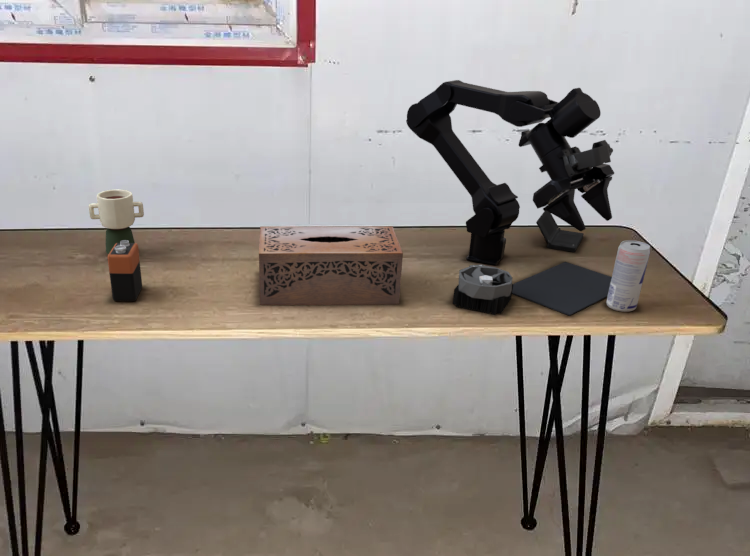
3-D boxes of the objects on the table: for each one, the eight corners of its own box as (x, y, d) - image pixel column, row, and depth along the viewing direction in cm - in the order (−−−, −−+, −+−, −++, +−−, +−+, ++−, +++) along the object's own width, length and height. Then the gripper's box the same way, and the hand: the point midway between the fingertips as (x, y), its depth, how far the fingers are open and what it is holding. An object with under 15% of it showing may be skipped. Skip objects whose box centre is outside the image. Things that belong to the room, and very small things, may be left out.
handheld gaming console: (586, 245, 166) (563, 205, 165) (555, 262, 169) (532, 223, 168) (585, 236, 176) (563, 198, 175) (556, 252, 180) (534, 215, 178)
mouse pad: (501, 290, 150) (501, 288, 149) (565, 263, 162) (565, 261, 162) (569, 315, 140) (569, 314, 140) (631, 284, 153) (631, 283, 152)
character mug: (147, 247, 167) (142, 188, 161) (147, 259, 161) (141, 198, 155) (96, 249, 166) (88, 190, 159) (93, 262, 160) (85, 200, 153)
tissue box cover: (389, 274, 156) (392, 226, 151) (399, 304, 143) (402, 253, 138) (261, 274, 155) (260, 226, 150) (259, 304, 142) (258, 253, 137)
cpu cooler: (505, 289, 136) (450, 279, 140) (501, 319, 139) (447, 307, 143) (519, 270, 144) (467, 260, 148) (515, 298, 147) (463, 288, 151)
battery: (112, 302, 143) (105, 250, 138) (120, 287, 149) (114, 237, 144) (135, 302, 143) (130, 251, 138) (143, 287, 149) (137, 237, 144)
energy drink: (637, 303, 145) (652, 242, 139) (634, 314, 141) (650, 252, 135) (607, 298, 147) (621, 238, 141) (604, 309, 143) (617, 247, 137)
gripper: (558, 133, 132) (604, 212, 130) (615, 119, 143) (658, 191, 141) (513, 170, 141) (555, 244, 139) (569, 154, 152) (610, 222, 150)
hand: (596, 224), depth 142 cm, fingers open, 9 cm apart
